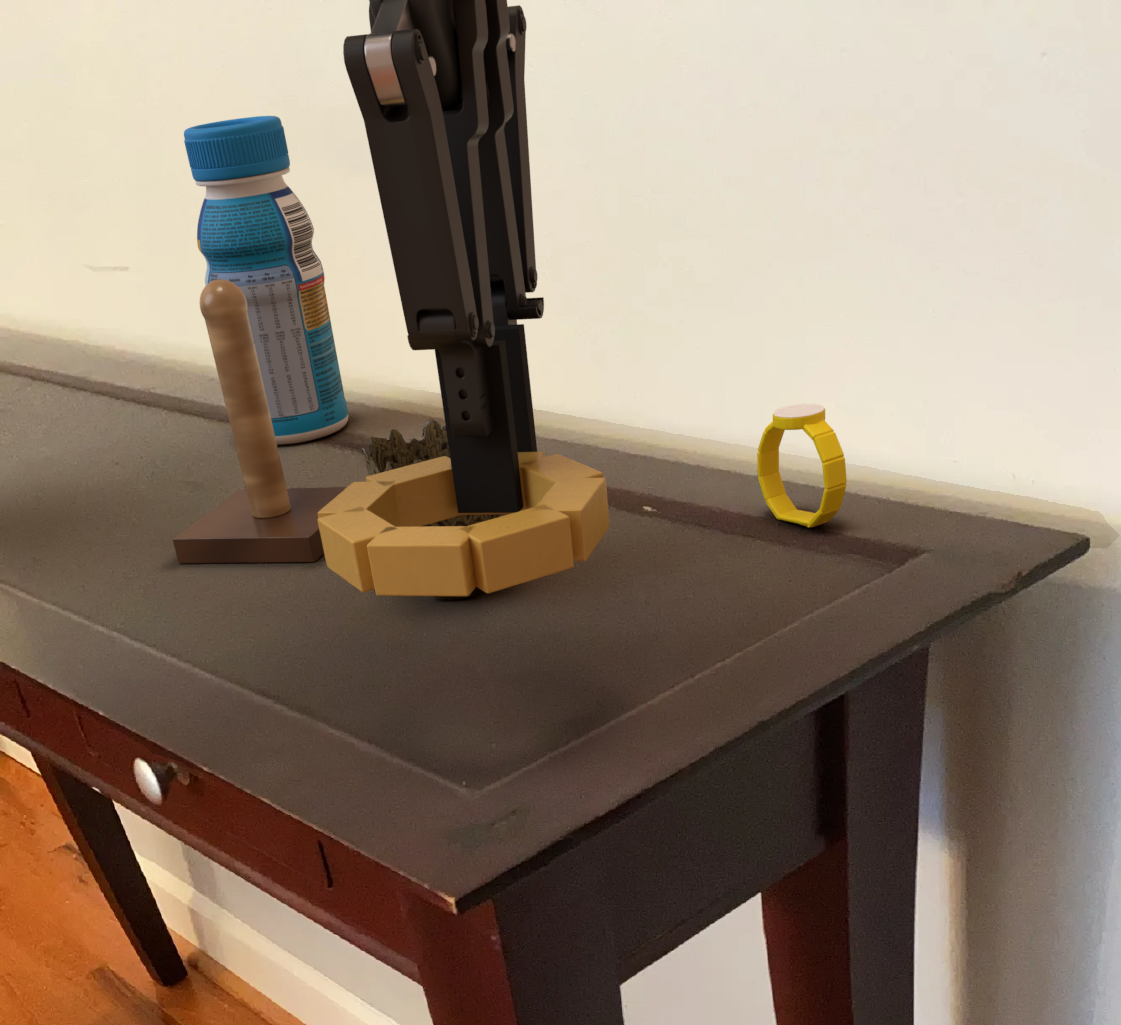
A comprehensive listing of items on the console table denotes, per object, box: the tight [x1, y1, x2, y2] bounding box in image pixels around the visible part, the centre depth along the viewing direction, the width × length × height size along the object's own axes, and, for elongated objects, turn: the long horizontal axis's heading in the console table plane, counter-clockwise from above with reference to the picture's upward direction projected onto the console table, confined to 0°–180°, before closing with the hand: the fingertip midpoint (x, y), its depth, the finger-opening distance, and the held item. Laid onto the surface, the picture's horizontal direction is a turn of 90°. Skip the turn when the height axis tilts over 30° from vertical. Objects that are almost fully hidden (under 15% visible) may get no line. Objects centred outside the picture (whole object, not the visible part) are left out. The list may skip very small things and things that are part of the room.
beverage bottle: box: [183, 115, 350, 446], centre depth 98 cm, size 8×8×20 cm
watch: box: [756, 403, 848, 528], centre depth 74 cm, size 6×3×6 cm, turn 32°
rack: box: [172, 279, 348, 564], centre depth 80 cm, size 9×9×14 cm
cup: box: [361, 418, 508, 601], centre depth 71 cm, size 8×7×8 cm
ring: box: [318, 451, 611, 597], centre depth 55 cm, size 11×11×2 cm
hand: (500, 498), depth 59 cm, fingers closed on ring, 2 cm apart
